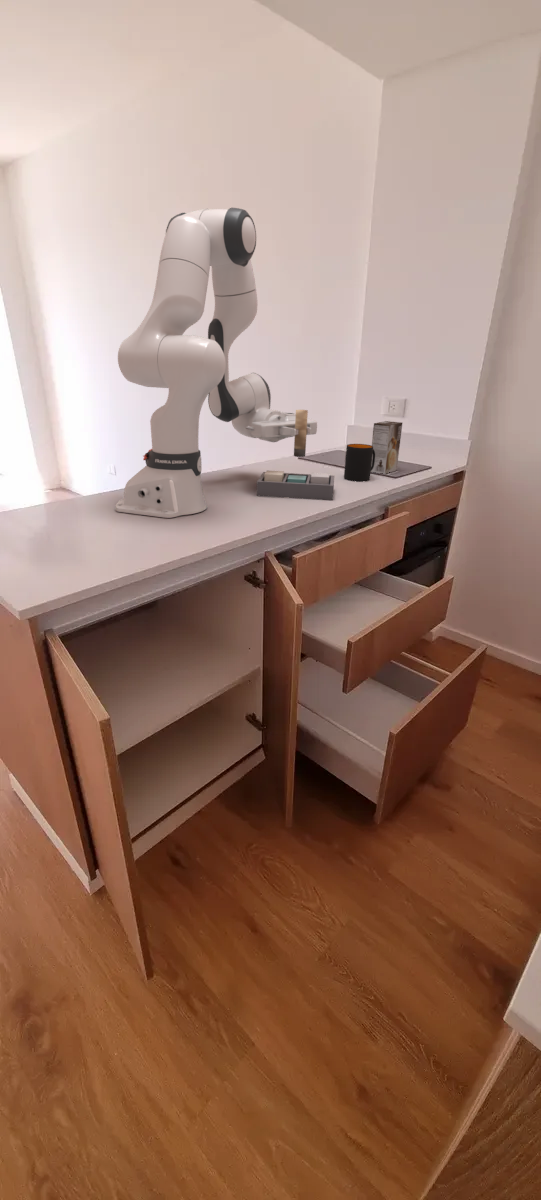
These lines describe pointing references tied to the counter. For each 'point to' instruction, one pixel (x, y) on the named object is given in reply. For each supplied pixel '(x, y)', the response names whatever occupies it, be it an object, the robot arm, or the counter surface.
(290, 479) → the key teal
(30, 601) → the counter surface
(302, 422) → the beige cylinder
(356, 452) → the mug
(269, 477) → the key cream
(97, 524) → the counter surface
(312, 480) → the key grey
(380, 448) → the coffee box
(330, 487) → the gray divided sorting tray
